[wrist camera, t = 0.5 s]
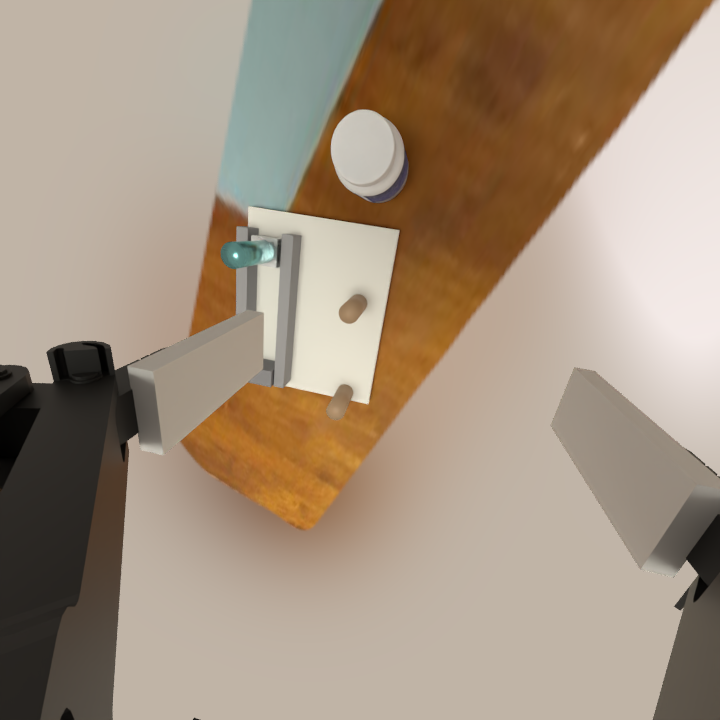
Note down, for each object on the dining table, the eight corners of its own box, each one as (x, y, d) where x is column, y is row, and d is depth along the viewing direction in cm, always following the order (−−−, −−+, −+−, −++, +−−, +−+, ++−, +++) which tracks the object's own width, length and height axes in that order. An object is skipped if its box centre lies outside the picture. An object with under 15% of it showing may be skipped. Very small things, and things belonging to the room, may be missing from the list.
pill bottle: (415, 143, 32) (411, 107, 23) (400, 208, 34) (392, 200, 25) (356, 132, 32) (329, 92, 23) (346, 197, 34) (317, 184, 25)
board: (253, 207, 36) (222, 202, 31) (399, 230, 35) (394, 229, 29) (249, 373, 44) (223, 394, 38) (369, 399, 42) (360, 425, 36)
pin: (261, 234, 36) (217, 235, 28) (286, 239, 36) (248, 241, 28) (260, 261, 37) (217, 269, 29) (284, 265, 37) (247, 274, 29)
